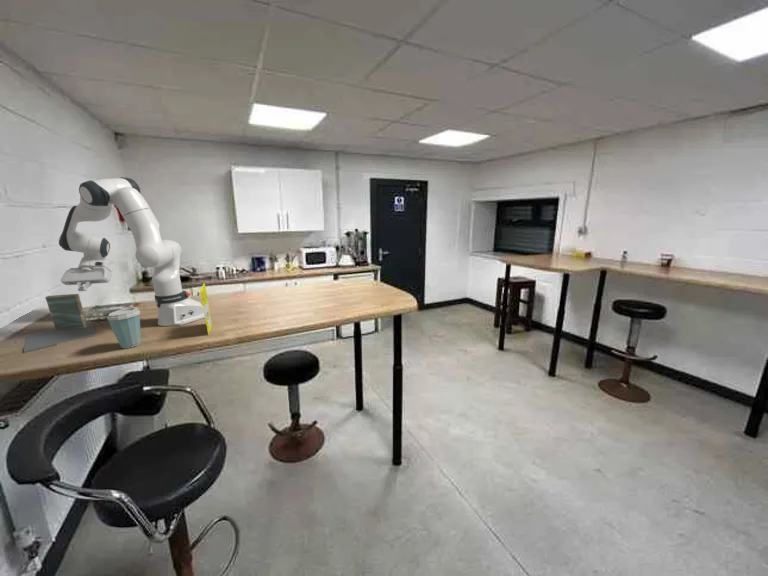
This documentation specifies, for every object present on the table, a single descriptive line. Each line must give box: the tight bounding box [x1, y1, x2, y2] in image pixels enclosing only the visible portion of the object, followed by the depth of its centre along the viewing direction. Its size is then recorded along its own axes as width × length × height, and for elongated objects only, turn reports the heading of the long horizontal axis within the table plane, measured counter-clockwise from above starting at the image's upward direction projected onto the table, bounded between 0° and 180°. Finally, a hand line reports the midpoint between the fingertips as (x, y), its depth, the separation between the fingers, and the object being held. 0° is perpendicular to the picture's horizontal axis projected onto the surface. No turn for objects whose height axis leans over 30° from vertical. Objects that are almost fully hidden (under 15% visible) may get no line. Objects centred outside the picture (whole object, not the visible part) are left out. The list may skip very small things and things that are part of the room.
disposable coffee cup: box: [106, 306, 142, 349], centre depth 131 cm, size 11×11×15 cm
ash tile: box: [44, 293, 88, 330], centre depth 150 cm, size 2×12×16 cm, turn 100°
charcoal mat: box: [23, 320, 97, 353], centre depth 145 cm, size 22×26×1 cm
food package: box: [199, 282, 213, 336], centre depth 144 cm, size 15×1×20 cm, turn 22°
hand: (81, 290), depth 160 cm, fingers closed
